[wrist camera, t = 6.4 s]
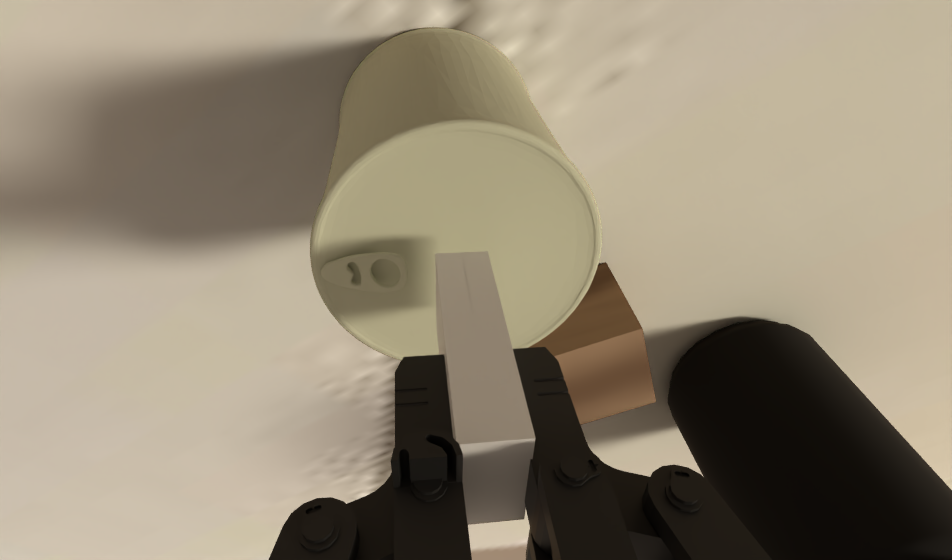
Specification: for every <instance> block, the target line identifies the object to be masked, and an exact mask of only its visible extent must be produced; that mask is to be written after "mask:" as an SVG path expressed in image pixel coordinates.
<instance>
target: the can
mask: <svg viewBox="0 0 952 560" xmlns="http://www.w3.org/2000/svg"><path fill="white" fill-rule="evenodd" d="M601 246H602V228H601V219H600V215H599V211H598V207H597V203H596V201H595V198H594V195H593V193H592V191H591V189H590V187H589V185H588V183H587V182H586V180H585V178H584V177H583V175H582V174H581V173H580V172H579V170H578V169H577V168H576V166H575V165H574V164H573V163H572V162H571V161H570V160H569V159H568V158H567V156H566V155H565V153H564V152H563V150H562V149H561V147H560V146H559V144H558V143H557V141H556V140H555V138H554V137H553V135H552V134H551V132H550V130H549V129H548V127H547V126H546V124H545V122H544V121H543V119H542V118H541V116H540V114H539V113H538V111H537V110H536V108H535V106H534V105H533V103H532V101H531V100H530V97H529V93H528V91H527V88H526V85H525V83H524V81H523V79H522V77H521V76H520V74H519V72H518V71H517V69H516V68H515V67H514V65H513V64H512V63H511V62H510V60H509V59H508V58H507V57H506V56H505V55H504V54H503V53H502V52H500V51H499V50H498V49H497V48H495V47H494V46H493V45H491V44H490V43H488V42H486V41H485V40H483V39H481V38H479V37H477V36H475V35H472V34H469V33H467V32H463V31H460V30H455V29H449V28H424V29H417V30H413V31H409V32H406V33H403V34H400V35H398V36H395V37H393V38H391V39H389V40H388V41H386V42H384V43H383V44H381V45H380V46H378V47H377V48H376V49H374V50H373V51H372V52H371V53H370V54H369V55H367V57H366V58H365V59H364V60H363V61H362V62H361V63H360V64H359V66H358V67H357V69H356V70H355V71H354V73H353V75H352V76H351V78H350V80H349V82H348V84H347V86H346V89H345V92H344V95H343V98H342V102H341V107H340V115H339V134H338V139H337V144H336V148H335V152H334V156H333V160H332V164H331V168H330V172H329V176H328V181H327V185H326V189H325V193H324V196H323V199H322V201H321V203H320V205H319V208H318V210H317V213H316V216H315V219H314V223H313V226H312V232H311V239H310V258H311V267H312V272H313V276H314V280H315V283H316V286H317V289H318V291H319V294H320V295H321V297H322V299H323V301H324V303H325V305H326V306H327V308H328V309H329V311H330V312H331V314H332V315H333V316H334V317H335V319H336V320H337V321H338V322H339V323H340V324H341V325H342V326H343V327H344V328H345V329H346V330H347V331H348V332H349V333H350V334H352V335H353V336H354V337H355V338H356V339H358V340H359V341H361V342H362V343H364V344H365V345H367V346H369V347H370V348H372V349H374V350H376V351H378V352H380V353H382V354H385V355H387V356H390V357H392V358H395V359H398V360H401V361H402V359H403V357H408V356H425V355H439V348H438V338H437V328H436V271H435V253H459V252H483V251H488V254H489V258H490V262H491V266H492V270H493V274H494V278H495V282H496V286H497V290H498V294H499V297H500V301H501V305H502V309H503V313H504V317H505V321H506V325H507V329H508V333H509V336H510V340H511V344H512V348H513V349H517V348H528V347H530V346H532V345H533V344H535V343H537V342H538V341H540V340H542V339H543V338H545V337H546V336H547V335H549V334H550V333H551V332H553V331H554V330H555V329H556V328H557V327H559V326H560V325H561V324H562V323H563V322H564V321H565V320H566V319H567V318H568V317H569V316H570V315H571V313H572V312H573V311H574V310H575V309H576V307H577V306H578V305H579V303H580V302H581V300H582V299H583V298H584V296H585V294H586V292H587V291H588V289H589V287H590V285H591V283H592V281H593V278H594V275H595V273H596V270H597V267H598V263H599V259H600V254H601Z"/></svg>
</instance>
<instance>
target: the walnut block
mask: <svg viewBox="0 0 952 560" xmlns="http://www.w3.org/2000/svg"><path fill="white" fill-rule="evenodd" d="M533 347H546V348H547V349H548V350H549V352H550V353H551V354H552V355H553V356H554V357H555V358H556V359H557V360H558V362H559V365H560V368H561V371H562V373H563V376H564V380H565V382H566V385H567V388H568V393H569V394H570V397H571V399H572V402H573V405H574V408H575V411H576V414H577V417H578V420H579V423H580V425H582V424H585V423H588V422H592V421H595V420H598V419H601V418H605V417H608V416H611V415H615V414H618V413H621V412H624V411H628V410H631V409H634V408H638V407H641V406H644V405H648V404H651V403H654V402H656V399H655V394H654V388H653V383H652V377H651V372H650V367H649V361H648V356H647V351H646V345H645V340H644V335H643V329H642V327H641V325H640V323H639V321H638V320H637V318H636V316H635V314H634V312H633V310H632V309H631V307H630V305H629V303H628V301H627V300H626V298H625V296H624V294H623V292H622V290H621V289H620V287H619V285H618V283H617V281H616V280H615V278H614V276H613V274H612V272H611V270H610V269H609V267H608V265H607V263H606V262H605V263H602V264H599V265H598V267H597V270H596V273H595V275H594V278H593V281H592V283H591V285H590V287H589V289H588V291H587V292H586V294H585V296H584V298H583V299H582V300H581V302H580V303H579V305H578V306H577V307H576V309H575V310H574V311H573V312H572V313H571V315H570V316H569V317H568V318H567V319H566V320H565V321H564V322H563V323H562V324H561V325H560V326H559V327H557V328H556V329H555V330H554V331H553V332H551V333H550V334H549V335H547V336H546V337H545V338H543V339H542V340H540V341H538V342H537V343H535V344H533V345H532V346H530V347H528V348H533Z"/></svg>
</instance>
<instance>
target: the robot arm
mask: <svg viewBox="0 0 952 560" xmlns="http://www.w3.org/2000/svg"><path fill="white" fill-rule="evenodd" d="M435 271H436V328H437V338H438V348H439V355H425V356H408V357H403V359H402V361H401V362H400V364H399V366H398V368H397V370H396V372H395V448H394V450H393V454H392V458H391V468H392V473H391V475H390V477H389V478H388V479H387V481H386V482H385V483H384V484H383V485H382V486H381V487H380V488H379V489H377V490H376V491H375V492H373V493H371V494H369V495H367V496H365V497H363V498H360V499H358V500H355V501H353V502H350V503H348V504H346V503H345V502H343V501H340V500H337V499H334V498H317V499H314V500H312V501H309V502H307V503H304V504H302V505H301V506H300V507H299V508H297V509H296V510H295V511H294V512H293V513H291V515H290V516H289V518H288V519H287V521H286V522H285V524H284V526H283V528H282V530H281V532H280V535H279V537H278V539H277V542H276V544H275V546H274V549H273V551H272V553H271V556H270V558H269V560H472V558H471V550H470V541H469V533H468V525H469V524H479V523H489V522H499V521H509V520H520V519H524V516H525V509H526V510H527V515H528V520H529V524H530V531H529V537H528V544H527V550H526V560H772V559H771V558H770V556H769V555H768V554H767V553H766V552H765V550H764V549H763V548H762V547H761V545H760V544H759V543H758V542H757V540H756V539H755V538H754V537H753V535H752V534H751V533H750V532H749V530H748V529H747V528H746V527H745V526H744V524H743V523H742V522H741V521H740V519H739V518H738V517H737V516H736V514H735V513H734V512H733V511H732V509H731V508H730V507H729V506H728V505H727V503H726V502H725V501H724V500H723V498H722V497H721V496H720V495H719V493H718V492H717V491H716V490H715V488H714V487H713V486H712V485H711V484H710V483H709V482H708V481H707V480H706V479H705V478H704V477H703V476H702V475H701V474H699V473H697V472H695V471H693V470H691V469H689V468H687V467H683V466H678V465H668V466H662V467H660V468H659V469H657V470H655V471H654V472H653V473H652V475H651V477H648V476H643V475H638V474H634V473H629V472H624V471H621V470H617V469H614V468H612V467H610V466H608V465H606V464H605V463H603V462H602V461H601V460H600V459H599V458H598V457H597V456H596V455H595V454H593V452H592V451H591V450H590V448H589V446H588V444H587V442H586V440H585V437H584V434H583V431H582V428H581V426H580V423H579V420H578V417H577V414H576V411H575V408H574V405H573V402H572V399H571V397H570V394H569V393H568V388H567V385H566V382H565V380H564V376H563V373H562V371H561V368H560V365H559V362H558V360H557V359H556V358H555V357H554V356H553V355H552V354H551V353H550V352H549V350H548V349H547V348H546V347H533V348H517V349H513V348H512V344H511V340H510V336H509V333H508V329H507V325H506V321H505V317H504V313H503V309H502V305H501V301H500V297H499V294H498V290H497V286H496V282H495V278H494V274H493V270H492V266H491V262H490V258H489V254H488V251H483V252H459V253H435Z"/></svg>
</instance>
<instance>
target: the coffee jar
mask: <svg viewBox="0 0 952 560" xmlns="http://www.w3.org/2000/svg"><path fill="white" fill-rule="evenodd" d="M668 404H669V407H670V410H671V413H672V416H673V418H674V420H675V422H676V424H677V426H678V428H679V430H680V432H681V434H682V436H683V438H684V440H685V441H686V443H687V445H688V447H689V449H690V451H691V453H692V455H693V457H694V459H695V461H696V463H697V465H698V467H699V468H700V470H701V472H702V474H703V476H704V478H705V479H706V480H707V481H708V482H709V483H710V484H711V485H712V486H713V487H714V488H715V490H716V491H717V492H718V493H719V495H720V496H721V497H722V498H723V500H724V501H725V502H726V503H727V505H728V506H729V507H730V508H731V509H732V511H733V512H734V513H735V514H736V516H737V517H738V518H739V519H740V521H741V522H742V523H743V524H744V526H745V527H746V528H747V529H748V530H749V532H750V533H751V534H752V535H753V537H754V538H755V539H756V540H757V542H758V543H759V544H760V545H761V547H762V548H763V549H764V550H765V552H766V553H767V554H768V555H769V556H770V558H771V559H772V560H952V490H951V489H950V488H949V487H948V486H947V485H946V484H945V483H944V481H943V480H942V479H941V478H940V477H939V476H938V475H937V474H936V473H935V472H934V471H933V469H932V468H931V467H930V466H929V465H928V464H927V463H926V462H925V461H924V460H923V458H922V457H921V456H920V455H919V454H918V453H917V452H916V451H915V450H914V449H913V448H912V446H911V445H910V444H909V443H908V442H907V441H906V440H905V439H904V438H903V437H902V435H901V434H900V433H899V432H898V431H897V430H896V429H895V428H894V427H893V426H892V425H891V423H890V422H889V421H888V420H887V419H886V418H885V417H884V416H883V415H882V414H881V413H880V411H879V410H878V409H877V408H876V407H875V406H874V405H873V404H872V403H871V402H870V400H869V399H868V398H867V397H866V396H865V395H864V394H863V393H862V392H861V391H860V390H859V388H858V387H857V386H856V385H855V384H854V383H853V382H852V381H851V380H850V379H849V378H848V376H847V375H846V374H845V373H844V372H843V371H842V370H841V369H840V368H839V367H838V365H837V364H836V363H835V362H834V361H833V360H832V359H831V358H830V357H829V356H828V355H827V353H826V352H825V351H824V350H823V349H822V348H821V347H820V346H819V345H818V344H817V342H816V341H815V340H814V339H813V338H812V337H811V336H810V335H809V334H807V333H805V332H803V331H801V330H799V329H797V328H795V327H793V326H790V325H788V324H780V323H778V322H771V321H761V320H755V321H748V322H742V323H736V324H733V325H731V326H728V327H725V328H723V329H720V330H717V331H715V332H713V333H712V334H710V335H708V336H707V337H705V338H704V339H702V340H701V341H699V342H697V343H696V344H695V345H694V346H693V347H692V348H691V349H690V350H689V351H688V352H687V353H686V354H685V355H684V356H683V357H682V358H681V359H680V361H679V363H678V364H677V366H676V368H675V370H674V371H673V373H672V379H671V382H670V388H669V394H668Z"/></svg>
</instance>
